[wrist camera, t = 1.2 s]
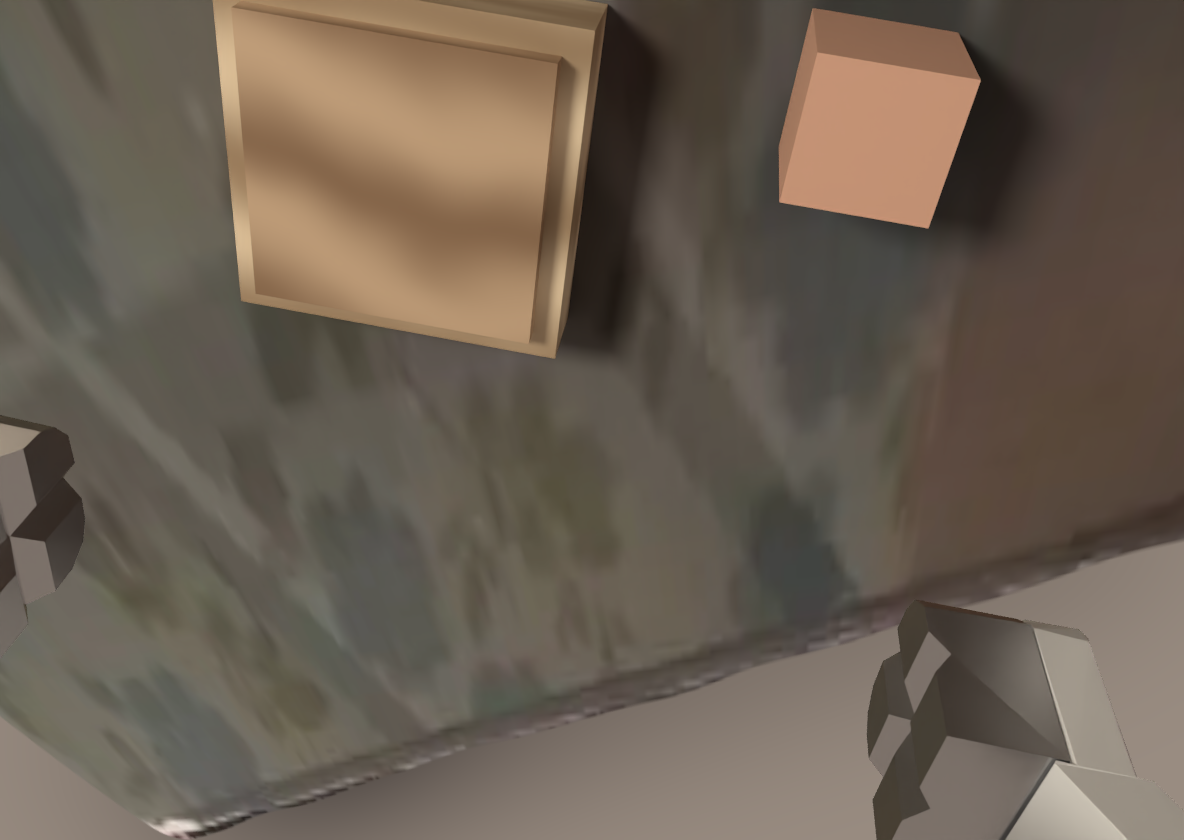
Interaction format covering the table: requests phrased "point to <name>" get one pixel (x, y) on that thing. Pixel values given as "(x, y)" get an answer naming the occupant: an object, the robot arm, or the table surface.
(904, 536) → the table surface
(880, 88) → the cube
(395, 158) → the plinth
